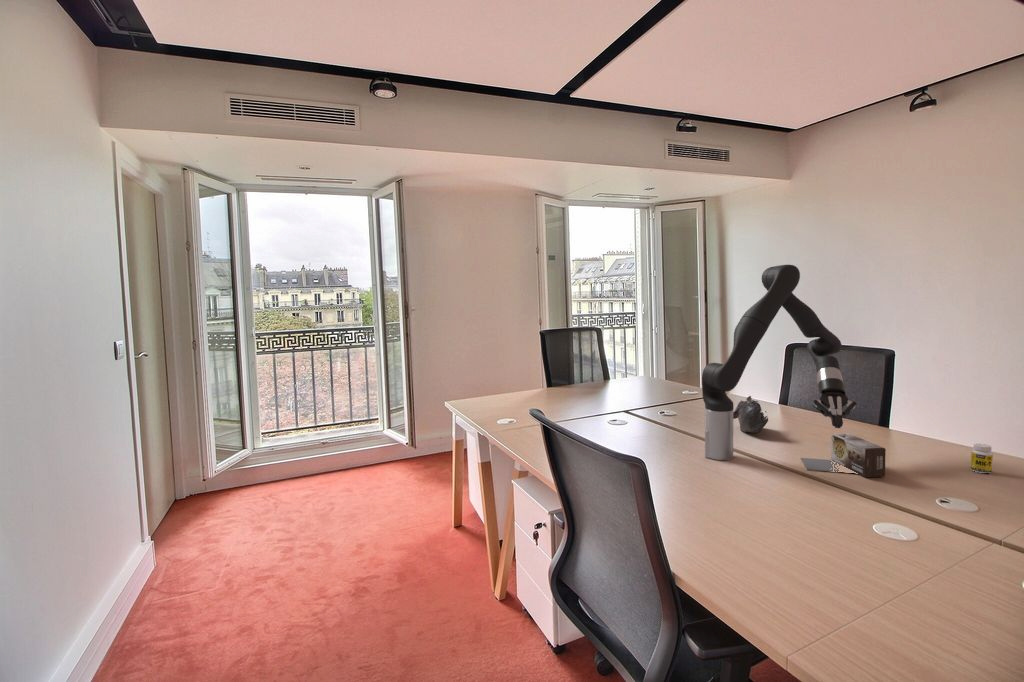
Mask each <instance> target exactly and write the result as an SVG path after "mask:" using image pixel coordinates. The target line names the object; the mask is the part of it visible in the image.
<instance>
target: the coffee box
mask: <svg viewBox="0 0 1024 682" xmlns="http://www.w3.org/2000/svg"><path fill="white" fill-rule="evenodd" d="M830 439H831V440H830V460H832V461H834V462H836V463H838V464H840V465H842V466H844V467H846V468H848V469H850V470H852V471H854V472H856V473H858V474H860V475H859V476H863V477H864V478H877V477H879V476H882V477H885V476H886V451H887V450H886V448H885V447H883V446H881V445H879V444H878V445H877V444H875V443H873V442H871V441H869V440H866V439H863V438H861V437H859V436H856V435H854V434H851V433H849V432H848V433H832V434H831V435H830Z"/></svg>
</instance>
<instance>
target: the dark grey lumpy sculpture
mask: <svg viewBox="0 0 1024 682" xmlns="http://www.w3.org/2000/svg"><path fill="white" fill-rule="evenodd" d="M764 412H765V413H767V410H764ZM764 412H763V409H762V406H761V404H760V402H759V401H758V400H754V399H753V397H752V395H749V396H747V397H746V398H745V400H740V401H739V402H738V403H737V406H736V408H735V409H734V410H733V420H736V419H738V423H739V428H740V429H739V430H740V431H741V432H744V433H760V432H761V431H762V430H763V429H764V428H765V426H766V425H767V423H768V422H769V417H768V415H766V416H765V414H764Z"/></svg>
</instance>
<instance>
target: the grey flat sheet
mask: <svg viewBox="0 0 1024 682" xmlns="http://www.w3.org/2000/svg"><path fill="white" fill-rule="evenodd" d="M800 461H801V463H802V464H803V463H804V464H803V466H804V465H805V466H804V468H805V467H806V468H805V470H806V469H807V470H806V471H809V470H821V471H833V466H832V465H833V464H834V463H833V462H834V461H833V462H832V461H831V459H824V458H823V459H822V458H813V457H812V458H811V457H810V458H809V457H800ZM831 462H832V464H831ZM835 465H837V463H835V464H834V468H835V469H837V468H836V467H835ZM839 466H840V464H839ZM837 467H838V466H837ZM831 468H832V469H831ZM830 469H831V470H830ZM835 469H834V471H835V472H836V471H837V472H838V471H839V470H838V469H839V468H838V469H837V470H835ZM821 471H820V472H821Z"/></svg>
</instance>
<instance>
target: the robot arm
mask: <svg viewBox="0 0 1024 682" xmlns="http://www.w3.org/2000/svg"><path fill="white" fill-rule="evenodd" d="M800 278H801V272H800V269H799V268H798V267H797V266H796V265H794V264H782V265H775V266H770V267H767V268H766V269H765V270H764V271H763V272H762V274H761V283H762V286H763V287H764V288H765V290H766V293H765V294H764V295H763V296H762V297H761V298H760V299H758V300H757V302H755V303H754V304H753V305H752V306H751V307H749V308H748V309H747V310H746V311H745V313H743V315H742V316H741V318H740V319H739V321H738V323H737V324H736V326H735V329H734V331H733V345H732V346H733V347H732V350H731V352H730V355H729V356H728V357H727V358H726V361H724V363H719V362H711V363H708V364H707V365H705V366H704V368H703V370H702V373H701V390H702V391H701V392H702V400H703V403H704V408H705V410H704V412H705V413H704V416H705V417H704V418H705V419H704V425H705V427H704V458H708V459H712V460H716V461H717V460H718V461H727V460H732V459H734V419H733V412H734V402H733V400H732V399H731V398H730V397H729V396H728V394H727V392H731V391H732V390H735V388H736V387H737V385H738V384H739V382H740V380H741V378H742V375H743V373H744V372H745V370H746V367H747V365H748V363H749V361H750V358H751V357H752V355H753V354H754V352H755V350H756V349H757V347H758V345H759V343H760V342H761V341H762V339H763V337H764V336H765V334H766V333H767V332H768V329H769V327H770V325H771V323H772V322H773V321H774V319H775V317H776V316H777V315H778V312H779V311H780V309H781V308H783V309H784V310H785V311H786V312H787V313H788V315H789V316H790V317H791V319H792V320H793V321H794V323H795V325H796V326H797V327H798V329H799V330H800V332H801V333H802V335H803V336H804V337H806V338H808V339H809V338H810V339H812V338H814V339H812V340H810V341H809V342H808V343H807V346H806V349H807V351H808V353H809V354H810V356H811V358H812V360H813V361H814V362H813V363H814V364H815V369H816V380H817V382H816V384H817V386H818V394H819V397H818V399H814V400H813V402H812V407H813V408H815V410H817V411H818V412H819V413H820V414H821V415H823V416H824V417H826V418H827V417H829V418H830V419H831V420H830V421H831V426H832V427H834V429H841V428H842V427H843V424H844V422H843V421H844V420H843V418H844V419H846V418H847V417H848V416H849V415H850V414H851V413H852V412H853V410H855V408H856V406H857V402H856V401H851V400H850V399H849V398H848V396H847V394H846V389H845V384H844V380H843V375H842V373H841V367H840V363H839V360H838V358H836V357H835V356H833V355H834V354H837V353H839V352H840V351H841V350H842V347H843V345H842V342H841V340H840V339H839V337H837V336H836V335H835V334H834V333H833V332H832V331H831V330H829V328H827V327H826V326H825V325H824V324H823V323H822V321H821V320H820V317H818V315H817V314H816V313H815V311H814V310H813V309H812V308H811V307H810V306H809V305H808V304H807V303H805V302H804V301H802V300H801V299H799V298H798V297H797V296H796V294H794V293H793V292H794V290H795V289H796V288H797V286H798V285H799V282H800V281H801V280H800ZM845 406H846V409H845V410H844V411H842V409H843V408H844V407H845Z"/></svg>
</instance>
